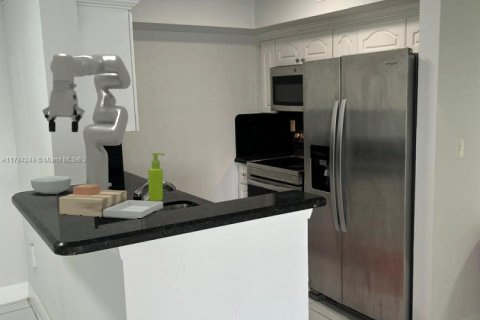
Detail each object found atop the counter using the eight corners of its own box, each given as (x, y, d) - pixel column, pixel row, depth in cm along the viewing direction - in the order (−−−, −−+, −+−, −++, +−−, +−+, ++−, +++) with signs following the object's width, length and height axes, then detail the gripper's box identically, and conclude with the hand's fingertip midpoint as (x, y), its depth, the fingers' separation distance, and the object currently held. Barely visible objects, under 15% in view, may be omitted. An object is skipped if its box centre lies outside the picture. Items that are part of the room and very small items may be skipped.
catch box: (129, 206, 175) (129, 200, 175) (162, 208, 172) (162, 201, 172) (103, 216, 156) (103, 209, 156) (141, 219, 153) (141, 211, 153)
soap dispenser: (162, 201, 186) (161, 153, 185) (146, 200, 188) (146, 153, 186) (167, 199, 192) (167, 152, 190) (151, 198, 193) (151, 152, 192)
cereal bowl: (36, 191, 210) (35, 176, 209) (73, 190, 213) (73, 175, 213) (27, 197, 193) (26, 180, 193) (67, 196, 197) (67, 180, 196)
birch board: (89, 204, 179) (89, 189, 178) (126, 206, 175) (126, 191, 175) (59, 214, 159) (59, 197, 159) (100, 216, 156) (100, 199, 155)
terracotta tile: (83, 191, 172) (83, 184, 171) (100, 192, 170) (100, 184, 170) (73, 194, 165) (73, 186, 164) (90, 195, 163) (90, 187, 163)
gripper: (89, 88, 173) (89, 132, 173) (49, 88, 176) (49, 132, 177) (78, 85, 165) (78, 132, 166) (37, 86, 169) (37, 131, 170)
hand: (63, 132), depth 172 cm, fingers open, 9 cm apart
